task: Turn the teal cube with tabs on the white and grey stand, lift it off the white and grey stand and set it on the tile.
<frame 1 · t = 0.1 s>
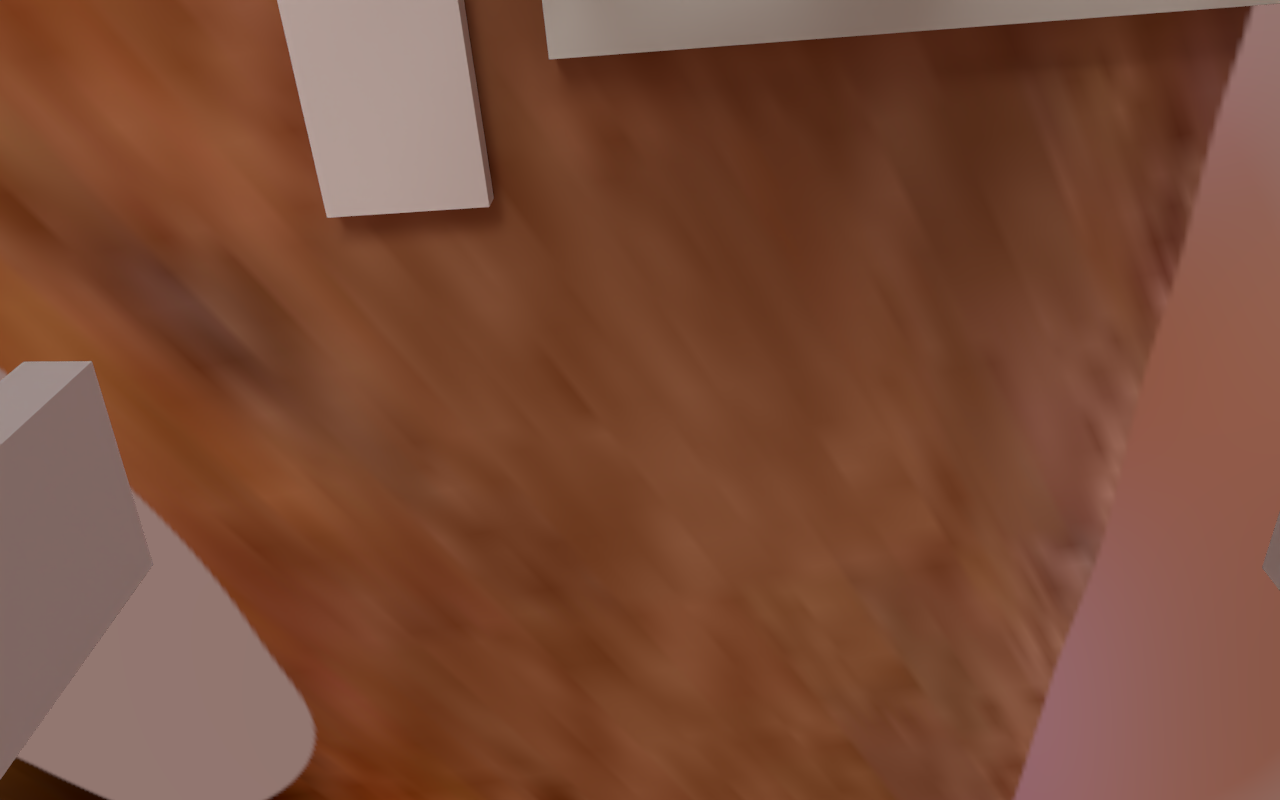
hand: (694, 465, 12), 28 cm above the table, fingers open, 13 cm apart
tile: (393, 94, 38), on the table
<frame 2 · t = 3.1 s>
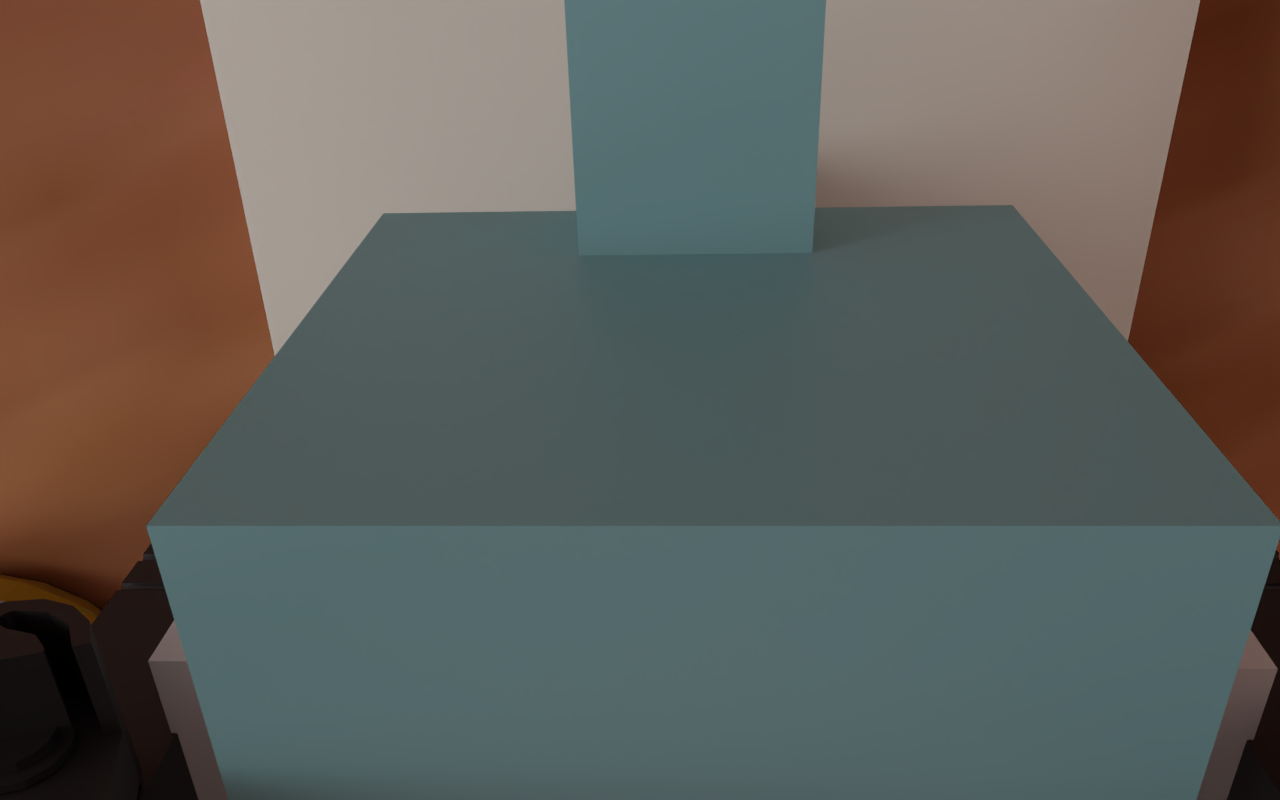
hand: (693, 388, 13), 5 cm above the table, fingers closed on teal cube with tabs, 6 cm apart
teal cube with tabs: (694, 474, 12), point 7 cm above the table, touching gripper, white and grey stand
white and grey stand: (692, 243, 18), on the table
bottle: (35, 676, 24), on the table
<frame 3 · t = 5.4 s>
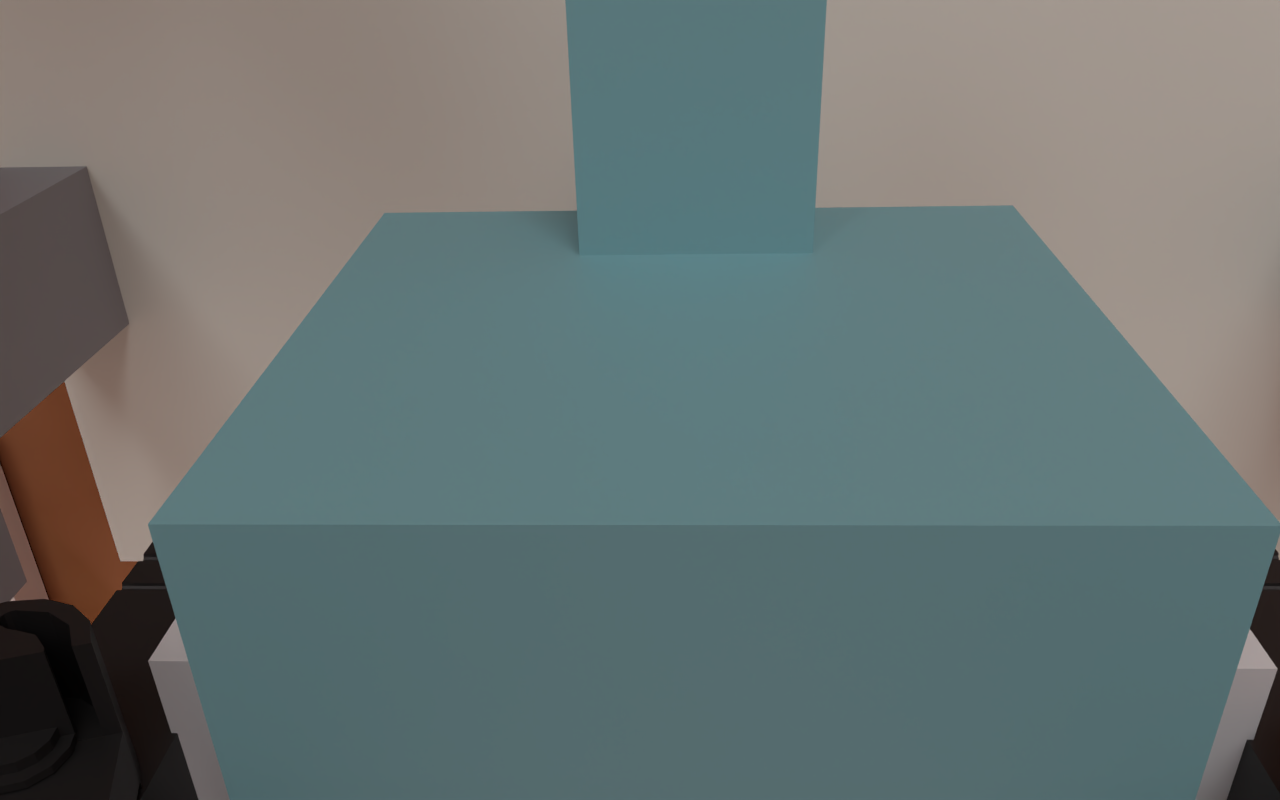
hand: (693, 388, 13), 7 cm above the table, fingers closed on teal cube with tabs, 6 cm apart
teal cube with tabs: (694, 474, 12), point 9 cm above the table, touching gripper
white and grey stand: (694, 219, 20), on the table
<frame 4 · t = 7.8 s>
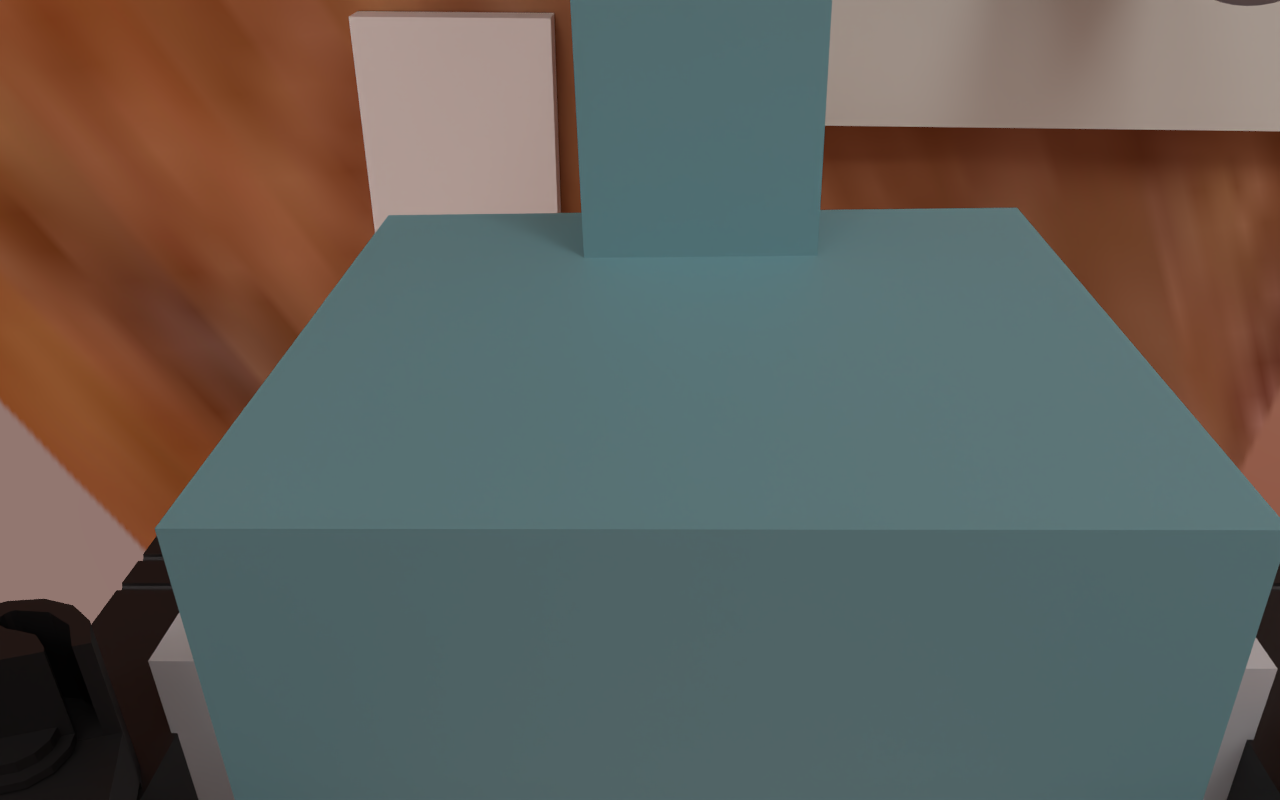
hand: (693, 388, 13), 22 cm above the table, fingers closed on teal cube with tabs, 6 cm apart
teal cube with tabs: (698, 476, 12), point 24 cm above the table, touching gripper
tile: (465, 142, 34), on the table
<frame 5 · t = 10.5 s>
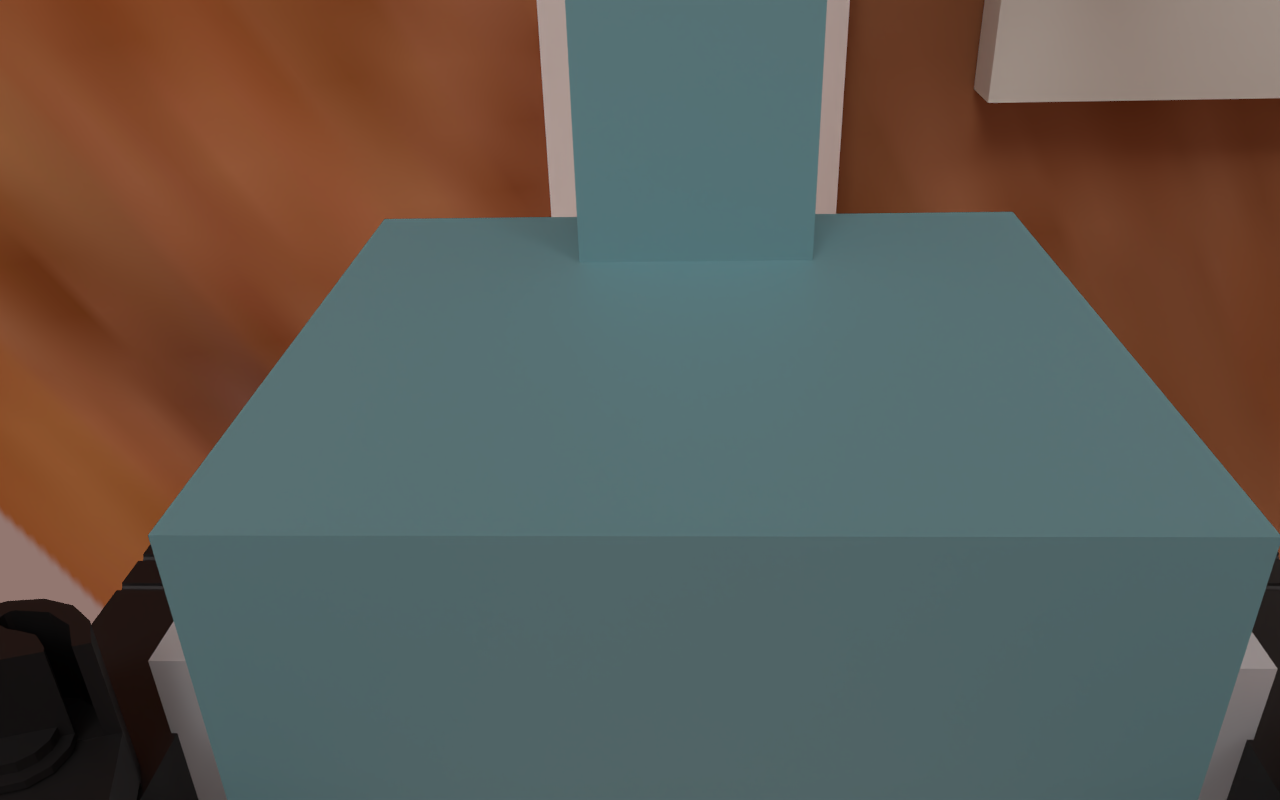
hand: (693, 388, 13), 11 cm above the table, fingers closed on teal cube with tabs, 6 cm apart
teal cube with tabs: (694, 479, 12), point 13 cm above the table, touching gripper
tile: (692, 141, 23), on the table
when the fingers open (1 cm above the table, at t = 12.6 s): teal cube with tabs drops 2 cm, resting on tile.
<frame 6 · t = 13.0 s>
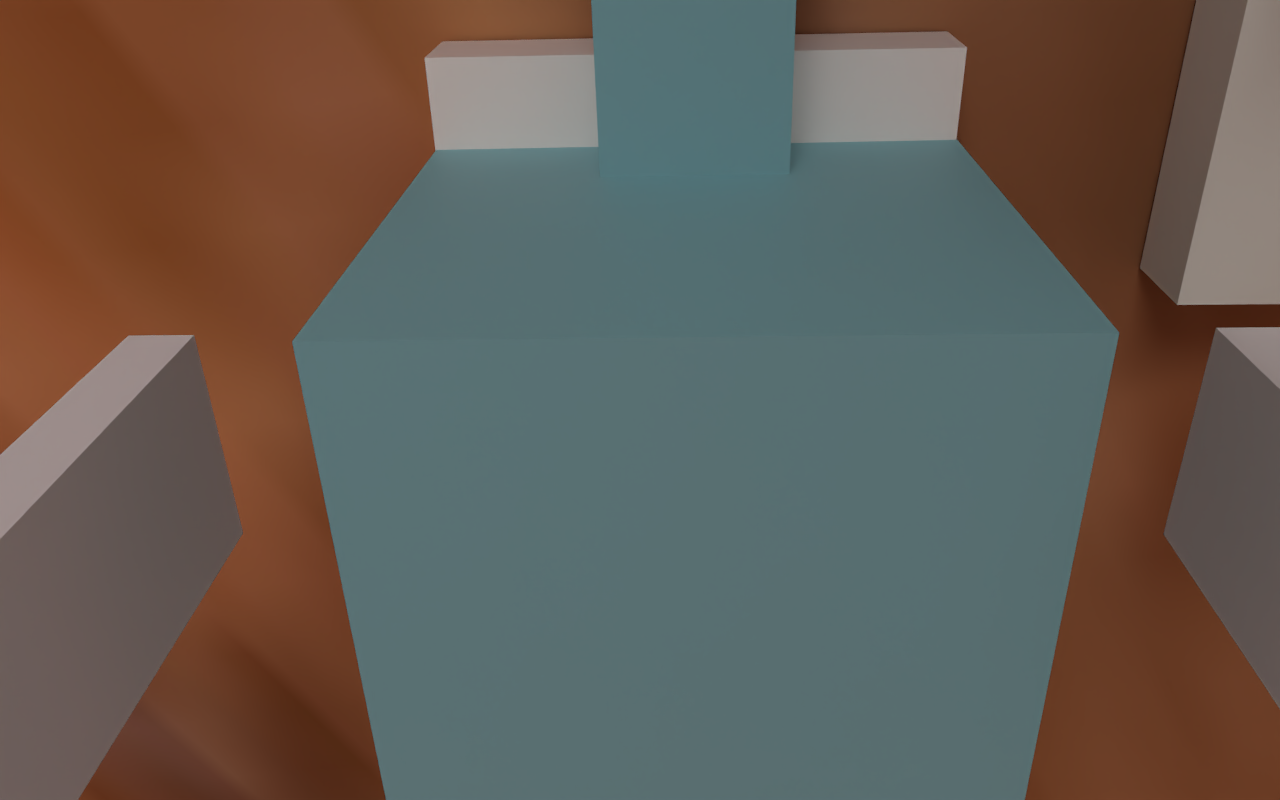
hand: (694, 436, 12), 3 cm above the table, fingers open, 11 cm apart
teal cube with tabs: (695, 376, 14), point 1 cm above the table, touching tile
tile: (692, 340, 15), on the table
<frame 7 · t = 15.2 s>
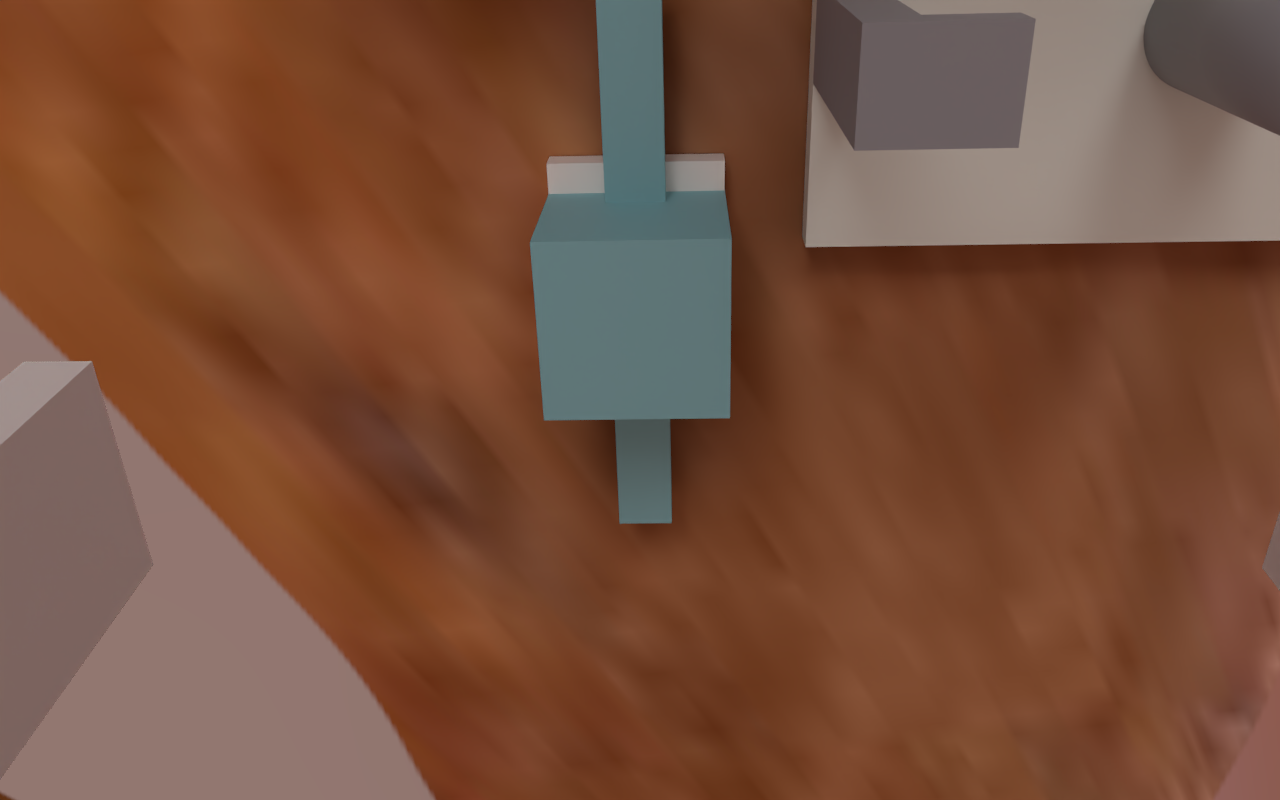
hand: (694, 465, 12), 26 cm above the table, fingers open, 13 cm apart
teal cube with tabs: (639, 275, 38), point 1 cm above the table, touching tile
tile: (639, 265, 39), on the table
white and grey stand: (1193, 20, 34), on the table
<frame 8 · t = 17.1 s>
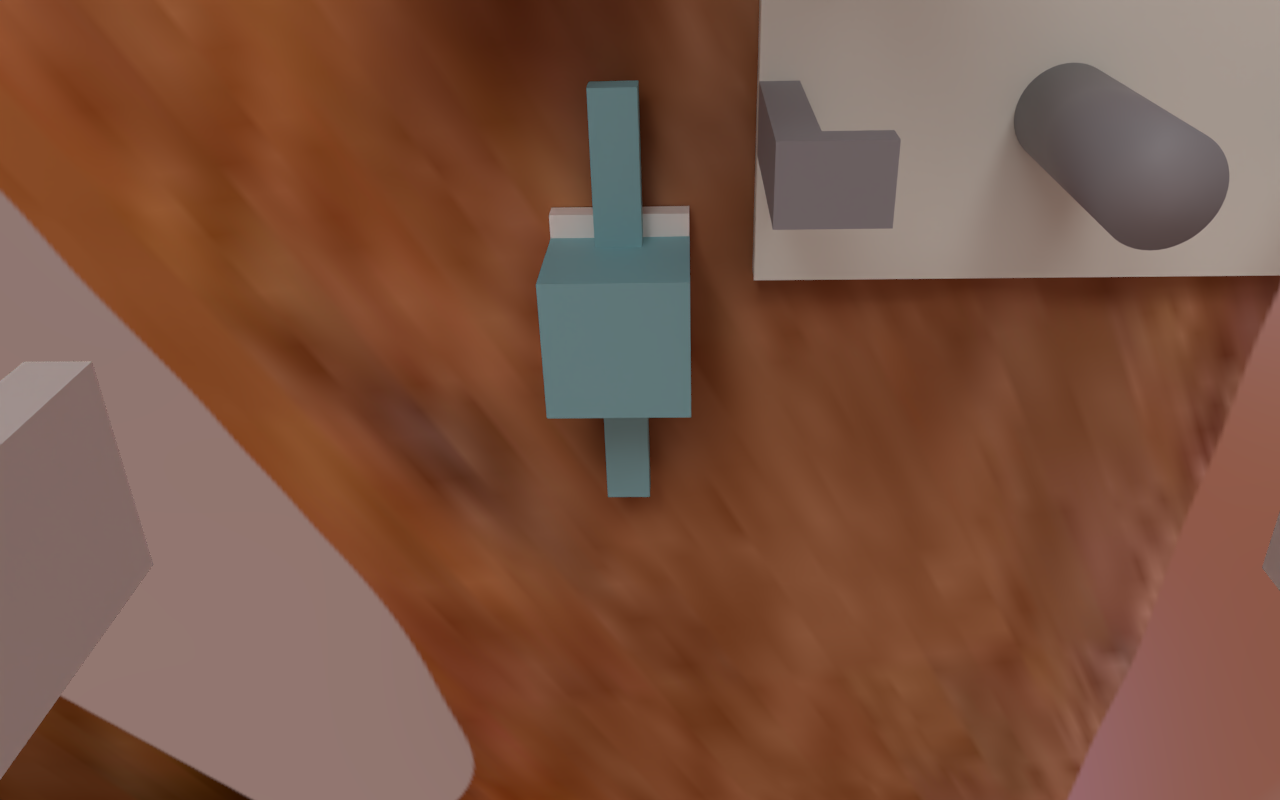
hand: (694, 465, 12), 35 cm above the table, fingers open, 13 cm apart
teal cube with tabs: (622, 301, 48), point 1 cm above the table, touching tile
tile: (623, 292, 48), on the table
white and grey stand: (1056, 107, 44), on the table
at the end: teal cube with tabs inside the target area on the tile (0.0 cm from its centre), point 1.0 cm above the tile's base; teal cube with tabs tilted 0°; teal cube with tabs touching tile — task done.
